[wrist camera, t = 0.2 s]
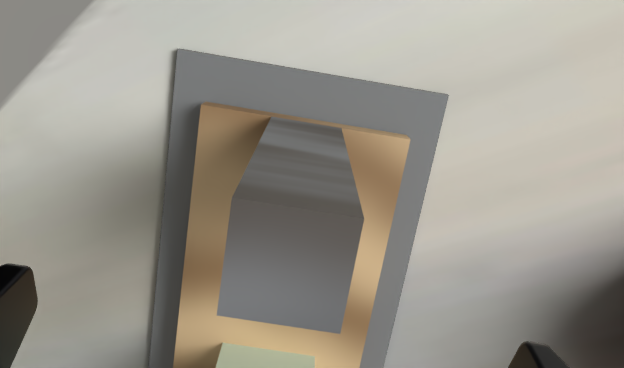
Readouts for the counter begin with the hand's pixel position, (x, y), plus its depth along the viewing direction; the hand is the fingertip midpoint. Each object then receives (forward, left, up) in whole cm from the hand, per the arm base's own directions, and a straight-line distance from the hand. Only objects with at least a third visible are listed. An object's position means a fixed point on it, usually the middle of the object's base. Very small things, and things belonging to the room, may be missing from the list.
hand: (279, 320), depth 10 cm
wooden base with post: (-6, -5, -15) cm, 17 cm away
